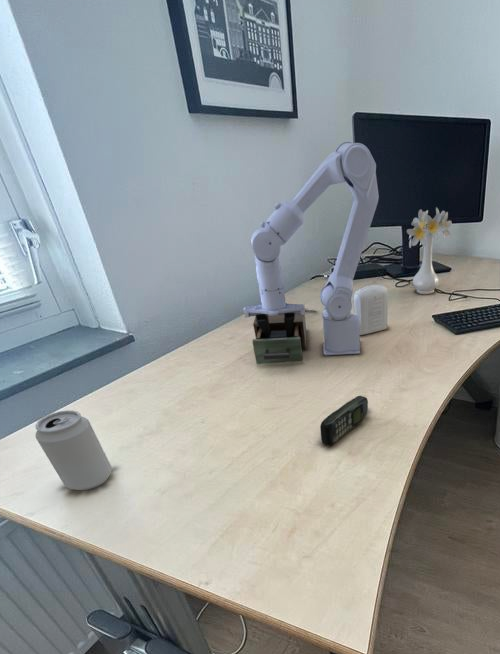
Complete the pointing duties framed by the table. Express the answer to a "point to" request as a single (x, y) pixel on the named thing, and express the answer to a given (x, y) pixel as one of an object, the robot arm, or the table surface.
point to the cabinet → (279, 321)
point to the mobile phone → (343, 420)
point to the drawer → (278, 346)
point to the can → (73, 449)
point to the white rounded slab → (371, 308)
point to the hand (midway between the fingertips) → (279, 343)
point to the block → (278, 334)
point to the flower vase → (428, 247)
